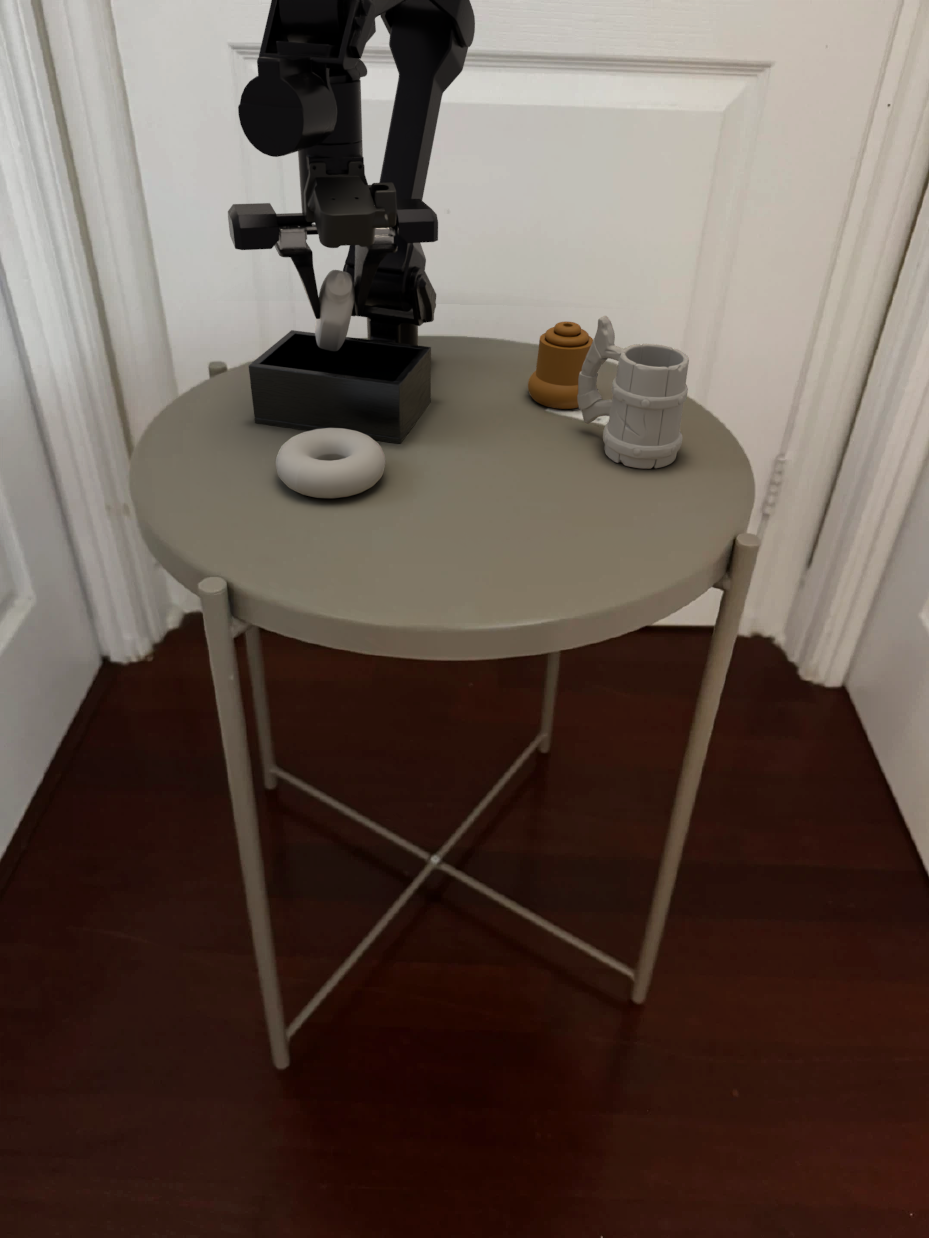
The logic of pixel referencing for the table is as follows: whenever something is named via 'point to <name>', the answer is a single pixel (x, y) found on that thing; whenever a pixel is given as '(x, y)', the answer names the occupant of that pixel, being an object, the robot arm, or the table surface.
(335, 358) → the black open box
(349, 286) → the eye dropper bottle
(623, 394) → the mug
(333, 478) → the donut
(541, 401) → the orange brown bell-shaped piece
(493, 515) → the table surface
